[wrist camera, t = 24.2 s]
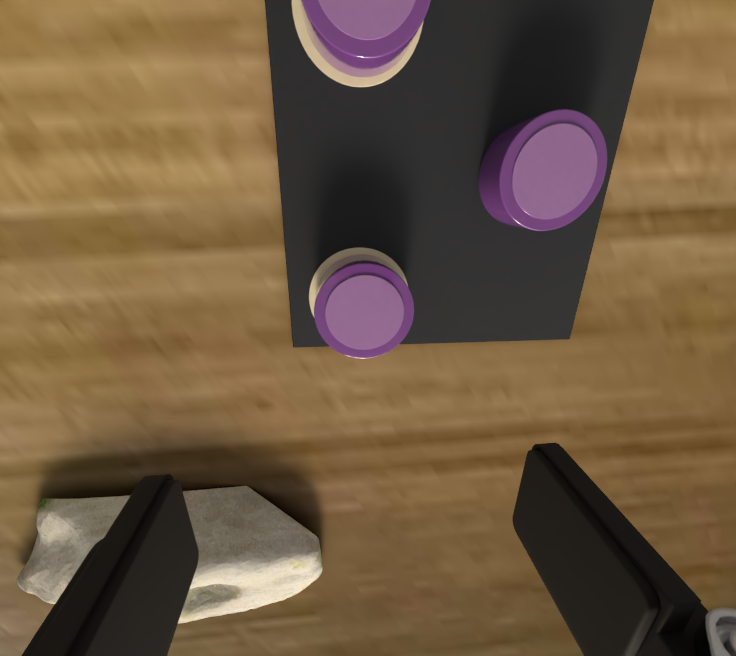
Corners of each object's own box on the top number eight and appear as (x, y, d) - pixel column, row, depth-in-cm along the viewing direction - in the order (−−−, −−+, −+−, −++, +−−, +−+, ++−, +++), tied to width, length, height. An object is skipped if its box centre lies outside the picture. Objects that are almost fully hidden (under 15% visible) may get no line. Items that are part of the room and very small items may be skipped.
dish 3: (472, 226, 24) (493, 231, 20) (485, 118, 21) (510, 106, 18) (560, 226, 24) (593, 231, 21) (582, 121, 22) (623, 109, 19)
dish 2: (318, 340, 26) (316, 361, 23) (314, 254, 23) (310, 264, 20) (403, 338, 26) (411, 357, 23) (407, 253, 24) (417, 263, 21)
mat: (293, 345, 26) (293, 348, 26) (258, -90, 17) (256, -98, 17) (566, 337, 28) (570, 339, 28) (663, -59, 19) (671, -65, 19)
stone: (344, 532, 29) (316, 635, 34) (333, 466, 35) (311, 561, 41) (-95, 561, 21) (-38, 687, 26) (-6, 469, 27) (25, 586, 33)
